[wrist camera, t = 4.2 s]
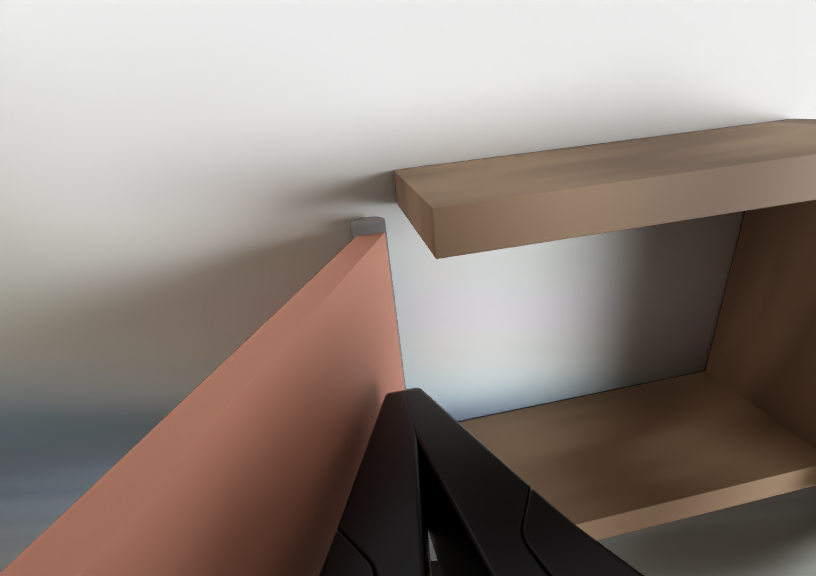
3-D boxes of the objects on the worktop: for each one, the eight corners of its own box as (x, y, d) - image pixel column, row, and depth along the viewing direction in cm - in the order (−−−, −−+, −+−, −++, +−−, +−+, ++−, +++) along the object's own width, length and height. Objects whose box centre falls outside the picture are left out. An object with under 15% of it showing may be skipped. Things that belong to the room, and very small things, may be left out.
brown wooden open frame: (793, 118, 11) (1120, 127, 6) (720, 385, 15) (896, 509, 10) (393, 169, 10) (450, 226, 5) (424, 448, 13) (472, 622, 9)
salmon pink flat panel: (391, 216, 10) (-28, 655, 2) (416, 432, 13) (270, 947, 5) (356, 217, 10) (-129, 621, 2) (389, 430, 13) (211, 920, 5)
